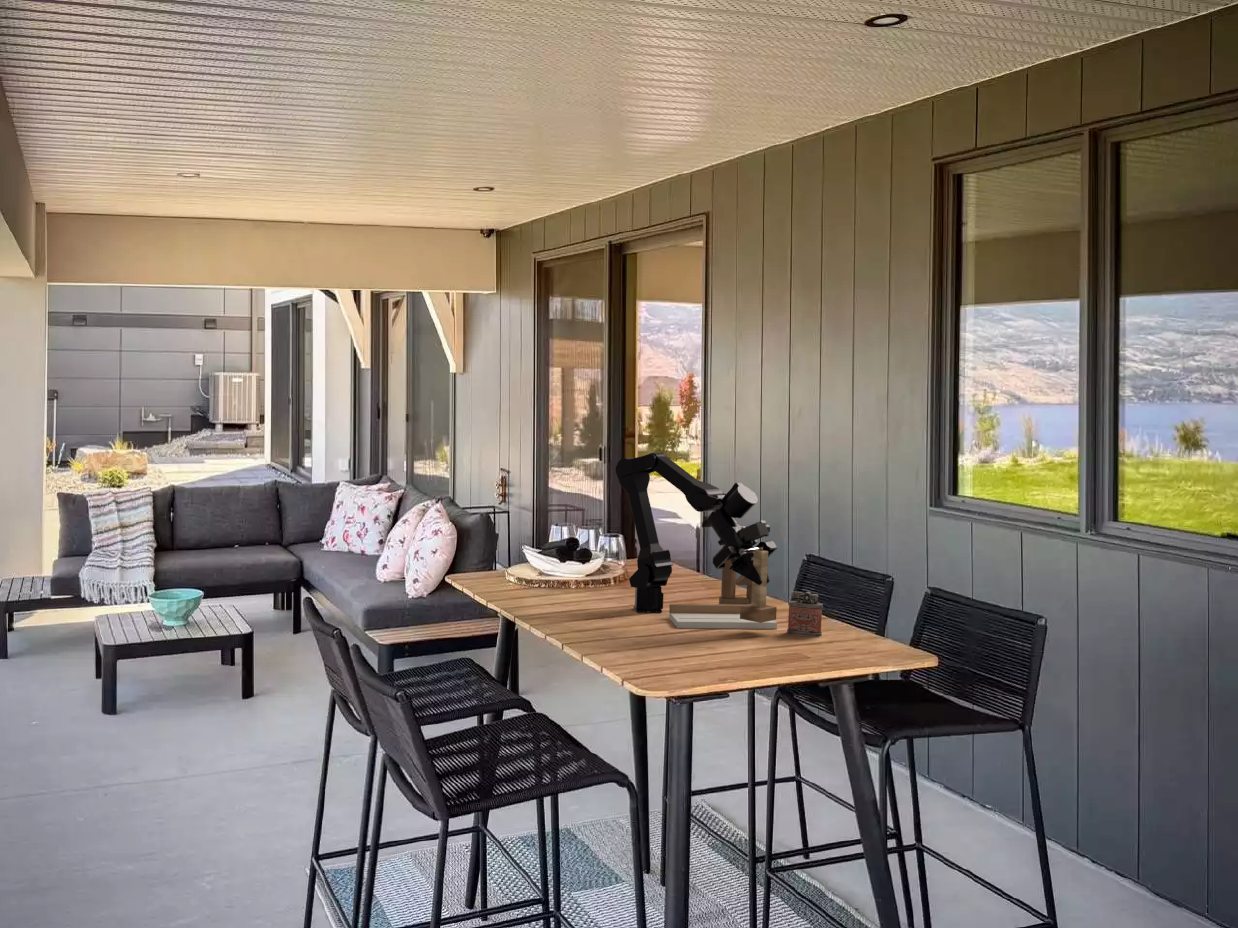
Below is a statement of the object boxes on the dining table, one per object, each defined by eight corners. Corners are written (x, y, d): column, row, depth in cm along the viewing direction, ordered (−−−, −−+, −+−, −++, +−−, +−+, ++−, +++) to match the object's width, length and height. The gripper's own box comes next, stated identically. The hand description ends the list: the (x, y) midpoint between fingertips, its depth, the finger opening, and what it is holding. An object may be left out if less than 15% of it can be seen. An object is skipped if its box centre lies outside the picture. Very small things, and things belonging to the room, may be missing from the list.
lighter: (822, 634, 276) (824, 592, 275) (820, 637, 272) (822, 594, 272) (788, 631, 278) (790, 589, 277) (785, 634, 275) (787, 591, 274)
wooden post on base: (739, 618, 274) (743, 546, 273) (755, 615, 279) (758, 545, 278) (760, 622, 270) (764, 550, 269) (776, 619, 275) (779, 548, 274)
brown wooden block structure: (762, 613, 300) (765, 542, 299) (722, 613, 298) (724, 542, 297) (758, 610, 304) (761, 541, 302) (718, 610, 302) (721, 540, 301)
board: (677, 627, 278) (678, 613, 277) (669, 617, 289) (669, 603, 289) (776, 628, 281) (777, 614, 280) (764, 618, 292) (765, 604, 292)
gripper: (724, 511, 269) (761, 565, 262) (772, 507, 282) (809, 558, 276) (696, 541, 275) (731, 595, 268) (744, 536, 288) (779, 587, 282)
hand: (764, 583), depth 273 cm, fingers closed on wooden post on base, 2 cm apart
